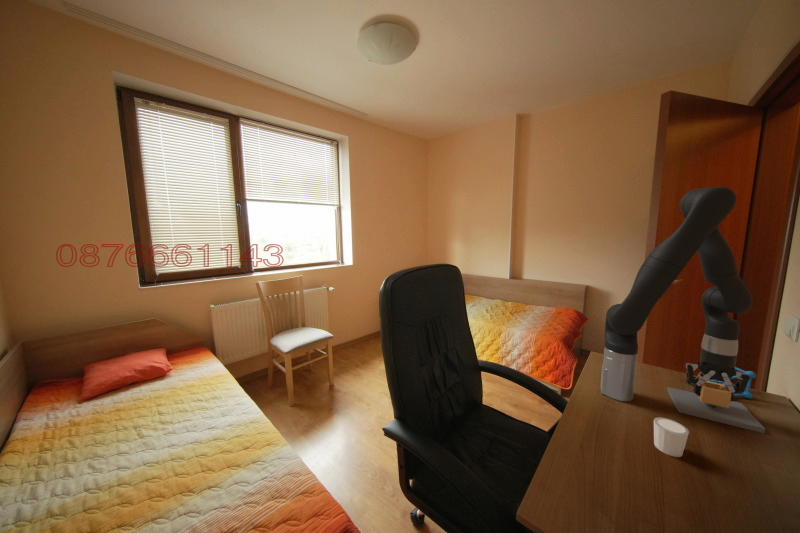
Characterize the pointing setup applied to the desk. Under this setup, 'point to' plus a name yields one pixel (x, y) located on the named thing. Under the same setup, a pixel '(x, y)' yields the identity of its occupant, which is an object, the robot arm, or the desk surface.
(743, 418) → the post board
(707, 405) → the steel post
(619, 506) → the desk surface
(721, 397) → the ochre collar
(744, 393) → the molecular structure
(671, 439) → the shot glass
